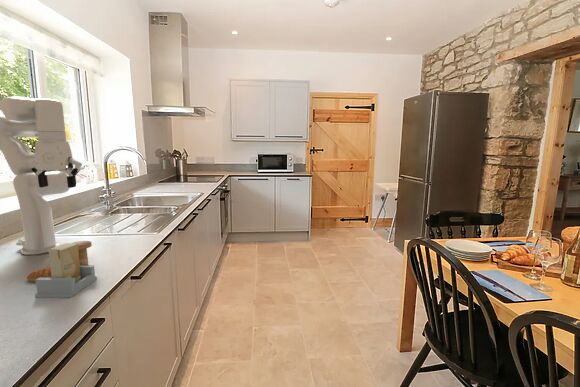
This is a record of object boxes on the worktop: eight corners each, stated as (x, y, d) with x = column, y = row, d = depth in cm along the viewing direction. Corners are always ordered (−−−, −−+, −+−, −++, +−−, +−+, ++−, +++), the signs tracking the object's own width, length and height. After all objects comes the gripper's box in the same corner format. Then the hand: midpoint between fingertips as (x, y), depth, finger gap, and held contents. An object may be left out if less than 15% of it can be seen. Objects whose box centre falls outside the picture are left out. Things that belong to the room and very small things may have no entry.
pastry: (24, 285, 93) (22, 274, 92) (30, 277, 99) (29, 266, 98) (61, 280, 97) (60, 268, 97) (65, 272, 103) (64, 261, 102)
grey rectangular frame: (35, 297, 86) (33, 281, 85) (65, 278, 98) (63, 264, 97) (71, 297, 86) (69, 281, 85) (96, 278, 98) (95, 264, 97)
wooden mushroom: (64, 276, 99) (60, 247, 97) (78, 267, 106) (75, 240, 104) (85, 276, 99) (82, 247, 97) (98, 267, 106) (95, 240, 104)
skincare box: (65, 289, 88) (60, 250, 86) (51, 288, 89) (46, 249, 87) (82, 280, 95) (78, 243, 93) (70, 279, 95) (66, 242, 93)
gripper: (16, 136, 98) (23, 188, 100) (70, 137, 98) (75, 189, 101) (35, 136, 105) (41, 185, 108) (85, 137, 105) (90, 185, 108)
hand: (58, 187), depth 104 cm, fingers open, 9 cm apart
